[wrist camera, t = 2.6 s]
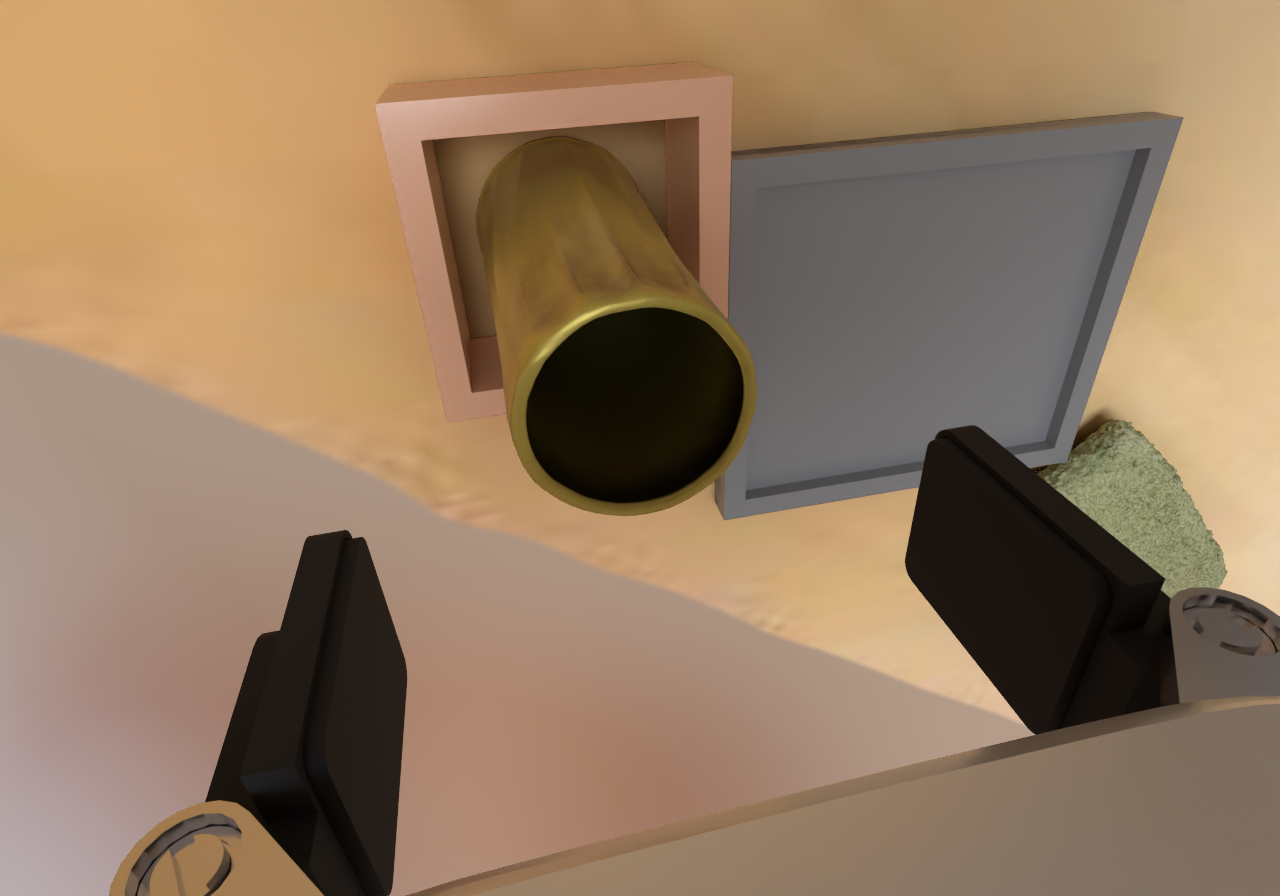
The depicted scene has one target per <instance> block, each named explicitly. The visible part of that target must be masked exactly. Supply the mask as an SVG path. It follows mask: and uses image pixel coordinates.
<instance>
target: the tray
mask: <svg viewBox="0 0 1280 896" xmlns="http://www.w3.org/2000/svg"><path fill="white" fill-rule="evenodd" d="M1182 120H1183V117H1178V116H1172V115H1167V114H1161V113H1156V112H1146V113H1135V114H1125V115H1114V116H1104V117H1093V118H1083V119H1072V120H1061V121H1051V122H1040V123H1030V124H1019V125H1009V126H998V127H987V128H977V129H966V130H956V131H945V132H935V133H924V134H914V135H903V136H892V137H882V138H871V139H861V140H850V141H840V142H829V143H818V144H808V145H797V146H787V147H776V148H766V149H755V150H745V151H734V152H731V186H730V235H729V283H728V321H729V322H730V323H731V324H732V326H733V327H734V328H735V329H736V331H737V332H738V333H739V334H740V336H741V337H742V338H743V340H744V341H745V343H746V344H747V346H748V348H749V351H750V354H751V356H752V359H753V363H754V368H755V373H756V385H757V401H756V409H755V412H754V416H753V420H752V423H751V425H750V428H749V431H748V434H747V436H746V439H745V442H744V444H743V446H742V448H741V450H740V451H739V453H738V455H737V456H736V458H735V459H734V460H733V462H732V463H731V464H730V466H729V467H728V468H727V469H726V470H725V471H724V473H723V474H722V475H721V476H720V477H719V478H717V479H716V480H715V502H716V504H717V506H718V509H719V511H720V513H721V515H722V517H723V519H724V520H729V519H734V518H740V517H746V516H752V515H758V514H764V513H770V512H776V511H781V510H787V509H793V508H799V507H805V506H811V505H817V504H822V503H828V502H834V501H840V500H846V499H852V498H858V497H864V496H869V495H875V494H881V493H887V492H893V491H899V490H905V489H910V488H916V487H919V485H920V480H921V475H922V470H923V465H924V460H925V454H926V449H927V446H928V444H929V442H930V441H932V440H934V439H935V436H936V435H937V434H938V432H939V431H942V430H945V429H951V428H957V427H963V426H969V425H975V426H977V427H979V428H981V429H982V430H983V431H984V432H986V433H987V434H988V435H989V436H991V437H992V438H993V439H994V440H996V441H997V442H998V443H999V444H1000V445H1002V446H1003V447H1004V448H1005V449H1007V450H1008V451H1009V452H1010V453H1012V454H1013V455H1014V456H1015V457H1016V458H1018V459H1019V460H1020V461H1021V462H1023V463H1024V464H1025V465H1026V466H1028V467H1029V468H1034V467H1039V466H1045V465H1051V464H1057V463H1063V462H1067V460H1068V457H1069V454H1070V451H1071V448H1072V445H1073V442H1074V439H1075V436H1076V433H1077V430H1078V427H1079V424H1080V422H1081V419H1082V416H1083V413H1084V410H1085V407H1086V404H1087V401H1088V398H1089V395H1090V392H1091V389H1092V386H1093V383H1094V380H1095V377H1096V374H1097V371H1098V368H1099V365H1100V362H1101V359H1102V356H1103V354H1104V351H1105V348H1106V345H1107V342H1108V339H1109V336H1110V333H1111V330H1112V327H1113V324H1114V321H1115V318H1116V315H1117V312H1118V309H1119V306H1120V303H1121V300H1122V297H1123V294H1124V291H1125V289H1126V286H1127V283H1128V280H1129V277H1130V274H1131V271H1132V268H1133V265H1134V262H1135V259H1136V256H1137V253H1138V250H1139V247H1140V244H1141V241H1142V238H1143V235H1144V232H1145V229H1146V226H1147V224H1148V221H1149V218H1150V215H1151V212H1152V209H1153V206H1154V203H1155V200H1156V197H1157V194H1158V191H1159V188H1160V185H1161V182H1162V179H1163V176H1164V173H1165V170H1166V167H1167V164H1168V161H1169V158H1170V156H1171V153H1172V150H1173V147H1174V144H1175V141H1176V138H1177V135H1178V132H1179V129H1180V126H1181V123H1182Z"/></svg>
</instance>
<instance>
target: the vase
mask: <svg viewBox="0 0 1280 896" xmlns="http://www.w3.org/2000/svg"><path fill="white" fill-rule="evenodd" d="M476 227H477V235H478V240H479V244H480V247H481V251H482V253H483V257H484V264H485V270H486V276H487V282H488V287H489V293H490V300H491V305H492V311H493V316H494V322H495V328H496V334H497V340H498V346H499V353H500V360H501V367H502V377H503V389H504V399H505V407H506V413H507V419H508V423H509V427H510V431H511V435H512V439H513V442H514V445H515V448H516V450H517V453H518V456H519V458H520V460H521V462H522V464H523V466H524V468H525V469H526V471H527V472H528V474H529V475H530V477H531V478H532V479H533V480H534V482H535V483H536V484H538V485H539V486H540V487H541V488H542V489H544V490H545V491H547V492H548V493H550V494H551V495H553V496H554V497H556V498H558V499H559V500H561V501H563V502H565V503H567V504H569V505H571V506H574V507H577V508H579V509H582V510H586V511H590V512H594V513H600V514H606V515H618V516H635V515H642V514H648V513H652V512H657V511H661V510H664V509H667V508H670V507H673V506H675V505H677V504H679V503H681V502H683V501H685V500H687V499H689V498H691V497H692V496H694V495H695V494H697V493H698V492H700V491H701V490H703V489H704V488H706V487H707V486H708V485H710V484H711V483H713V482H714V481H715V480H716V479H717V478H719V477H720V476H721V475H722V474H723V473H724V471H725V470H726V469H727V468H728V467H729V466H730V464H731V463H732V462H733V460H734V459H735V458H736V456H737V455H738V453H739V451H740V450H741V448H742V446H743V444H744V442H745V439H746V436H747V434H748V431H749V428H750V425H751V423H752V420H753V416H754V412H755V409H756V401H757V385H756V373H755V368H754V363H753V359H752V356H751V354H750V351H749V348H748V346H747V344H746V343H745V341H744V340H743V338H742V337H741V336H740V334H739V333H738V332H737V331H736V329H735V328H734V327H733V326H732V324H731V323H730V322H729V321H728V319H727V318H726V317H725V316H724V315H723V313H722V312H721V311H720V310H719V309H718V308H717V306H716V305H715V304H714V303H713V302H712V300H711V299H710V298H709V297H708V295H707V294H706V293H705V291H704V290H703V289H702V287H701V286H700V285H699V283H698V282H697V281H696V280H695V278H694V277H693V276H692V275H691V273H690V272H689V271H688V270H687V268H686V267H685V266H684V264H683V263H682V262H681V260H680V259H679V257H678V256H677V255H676V253H675V251H674V250H673V248H672V247H671V245H670V244H669V242H668V240H667V239H666V237H665V235H664V234H663V232H662V230H661V229H660V227H659V225H658V224H657V222H656V220H655V218H654V216H653V215H652V213H651V212H650V210H649V208H648V206H647V204H646V203H645V201H644V200H643V198H642V197H641V196H640V194H639V192H638V189H637V187H636V184H635V182H634V180H633V179H632V177H631V176H630V174H629V173H628V171H627V170H626V169H625V168H624V167H623V166H622V165H621V164H620V162H619V161H617V160H616V159H615V158H614V157H613V156H612V155H611V154H610V153H608V152H607V151H605V150H604V149H602V148H600V147H598V146H595V145H593V144H590V143H587V142H583V141H580V140H576V139H572V138H567V137H552V138H546V139H541V140H536V141H533V142H529V143H527V144H525V145H523V146H521V147H519V148H518V149H516V150H514V151H513V152H512V153H510V154H509V155H508V156H507V157H505V158H504V159H503V160H502V161H501V162H500V163H499V164H498V165H497V166H496V167H495V168H494V169H493V171H492V172H491V173H490V175H489V177H488V179H487V180H486V183H485V185H484V187H483V190H482V193H481V196H480V199H479V204H478V210H477V215H476Z"/></svg>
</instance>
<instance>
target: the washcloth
mask: <svg viewBox="0 0 1280 896" xmlns="http://www.w3.org/2000/svg"><path fill="white" fill-rule="evenodd" d="M1131 424H1132V422H1129V423H1126V422H1125V421H1118V420H1113V419H1112V420H1109V421H1108V422H1107V423H1105V424H1104V425H1102V426H1100V428H1099V429H1098V431H1096V432H1095V433H1092V434H1091V435H1089V436H1088V437H1087V438H1086V439H1085V441H1084V442H1082V443H1080V444H1079V445H1078V446H1077V447H1076V448H1074V449H1073V450H1072V451H1071V452H1070V454H1069V457H1068V460H1067V462H1063V463H1057V464H1054V465H1052V464H1051V465H1049V466H1048V467H1047V468H1046V469H1044V470H1042V471H1040V472H1038V474H1037V475H1039V476H1040V477H1041V478H1042V479H1044V480H1045V481H1046V482H1047V483H1048V484H1050V485H1051V486H1052V487H1053V488H1055V489H1056V490H1057V491H1058V492H1060V493H1061V494H1062V495H1063V496H1064V497H1066V498H1067V499H1068V500H1069V501H1071V502H1072V503H1073V504H1074V505H1075V506H1077V507H1078V508H1079V509H1080V510H1082V511H1083V512H1084V513H1085V514H1087V515H1088V516H1089V517H1090V518H1091V519H1093V520H1094V521H1095V522H1096V523H1098V524H1099V525H1100V526H1101V527H1103V528H1104V529H1105V530H1106V531H1107V532H1109V533H1110V534H1111V535H1112V536H1114V537H1115V538H1116V539H1117V540H1119V541H1120V542H1121V543H1122V544H1123V545H1125V546H1126V547H1127V548H1128V549H1130V550H1131V551H1132V552H1133V553H1135V554H1136V555H1137V556H1138V557H1139V558H1141V559H1142V560H1143V561H1144V562H1146V563H1147V564H1148V565H1149V566H1151V567H1152V568H1153V569H1154V570H1155V571H1157V572H1158V573H1159V574H1160V575H1162V576H1163V577H1164V578H1165V579H1166V580H1165V582H1164V584H1163V586H1162V588H1161V591H1163V592H1164V593H1165V594H1166V595H1167V596H1169V597H1170V598H1172V597H1173V596H1174V595H1175V594H1176V593H1177V592H1178V591H1181V590H1185V589H1188V588H1195V587H1208V588H1215V589H1218V588H1219V587H1220V585H1221V584H1222V582H1223V579H1224V578H1225V576H1226V574H1227V572H1228V571H1227V570H1226V569H1225V563H1224V559H1223V558H1222V557H1223V552H1222V550H1221V549H1220V546H1219V544H1217V542H1216V541H1215V540H1214V539H1213V538H1212V535H1213V533H1211V532H1212V531H1210V530H1207V529H1206V525H1205V524H1204V522H1203V519H1202V516H1201V515H1200V514H1199V511H1198V510H1197V509H1195V507H1194V501H1193V500H1192V499H1191V496H1190V494H1188V492H1187V491H1186V490H1184V489H1183V487H1182V485H1183V482H1181V478H1180V476H1179V475H1178V474H1176V472H1177V470H1176V469H1174V467H1173V466H1172V465H1170V464H1169V463H1167V460H1166V459H1164V458H1163V457H1162V455H1161V453H1160V452H1159V451H1158V450H1155V448H1154V446H1155V445H1154V444H1150V443H1149V441H1148V440H1147V438H1146V437H1145V436H1144V435H1143V434H1142V433H1141V431H1136V430H1135V429H1134V427H1132V425H1131Z"/></svg>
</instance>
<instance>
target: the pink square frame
mask: <svg viewBox="0 0 1280 896" xmlns="http://www.w3.org/2000/svg"><path fill="white" fill-rule="evenodd" d="M732 90H733V76H732V75H729V74H727V73H724V72H721V71H718V70H715V69H712V68H709V67H706V66H703V65H700V64H697V63H694V62H684V63H671V64H657V65H644V66H631V67H618V68H604V69H591V70H578V71H565V72H551V73H538V74H525V75H512V76H499V77H485V78H472V79H459V80H446V81H432V82H419V83H406V84H393V85H389V86H388V87H387V88H386V90H385V91H384V92H383V94H382V95H381V96H380V97H379V99H378V100H377V101H376V103H375V108H376V112H377V117H378V121H379V125H380V130H381V134H382V139H383V143H384V147H385V152H386V156H387V160H388V165H389V169H390V174H391V178H392V182H393V187H394V191H395V195H396V200H397V204H398V209H399V213H400V217H401V222H402V226H403V230H404V235H405V239H406V244H407V248H408V252H409V257H410V261H411V265H412V270H413V274H414V279H415V283H416V287H417V292H418V296H419V301H420V305H421V309H422V314H423V318H424V322H425V327H426V331H427V336H428V340H429V344H430V349H431V353H432V357H433V362H434V366H435V371H436V375H437V379H438V384H439V388H440V392H441V397H442V401H443V406H444V410H445V414H446V419H447V422H454V421H461V420H468V419H475V418H482V417H489V416H497V415H504V414H507V413H506V407H505V399H504V389H503V377H502V367H501V360H500V353H499V346H498V340H497V336H492V337H484V338H476V339H471V338H470V333H469V328H468V323H467V317H466V312H465V307H464V302H463V297H462V292H461V286H460V281H459V276H458V271H457V266H456V260H455V255H454V250H453V245H452V240H451V235H450V229H449V224H448V219H447V214H446V209H445V203H444V198H443V193H442V188H441V183H440V178H439V172H438V167H437V162H436V157H435V152H434V146H433V141H432V139H444V138H455V137H467V136H478V135H490V134H502V133H513V132H525V131H536V130H548V129H559V128H571V127H582V126H594V125H605V124H617V123H628V122H640V121H651V120H663V119H665V145H666V183H667V220H668V242H669V244H670V245H671V247H672V248H673V250H674V251H675V253H676V255H677V256H678V257H679V259H680V260H681V262H682V263H683V264H684V266H685V267H686V268H687V270H688V271H689V272H690V273H691V275H692V276H693V277H694V278H695V280H696V281H697V282H698V283H699V285H700V286H701V287H702V289H703V290H704V291H705V293H706V294H707V295H708V297H709V298H710V299H711V300H712V302H713V303H714V304H715V305H716V306H717V308H718V309H719V310H720V311H721V312H722V313H723V315H724V316H725V317H726V318H727V319H728V283H729V235H730V186H731V138H732Z"/></svg>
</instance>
